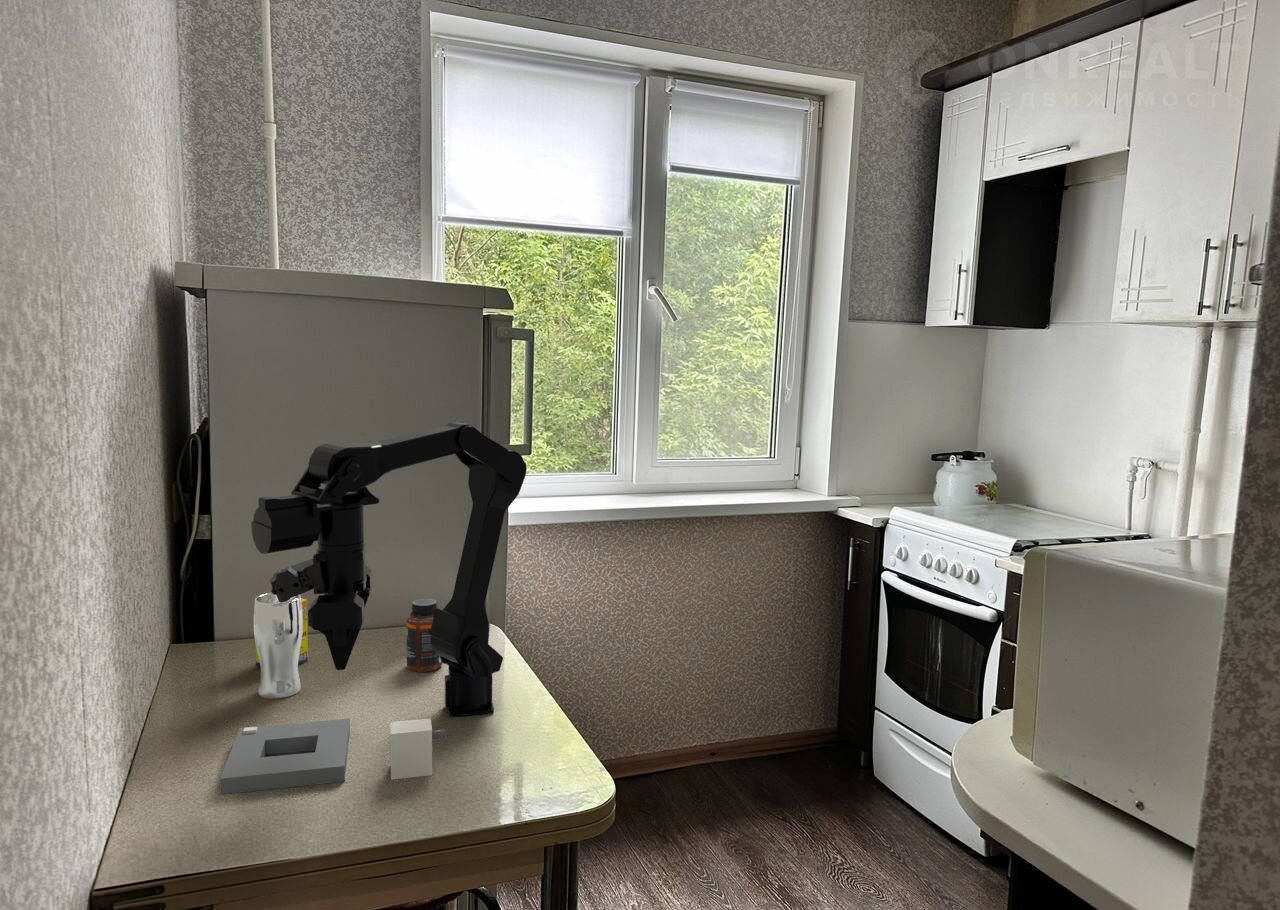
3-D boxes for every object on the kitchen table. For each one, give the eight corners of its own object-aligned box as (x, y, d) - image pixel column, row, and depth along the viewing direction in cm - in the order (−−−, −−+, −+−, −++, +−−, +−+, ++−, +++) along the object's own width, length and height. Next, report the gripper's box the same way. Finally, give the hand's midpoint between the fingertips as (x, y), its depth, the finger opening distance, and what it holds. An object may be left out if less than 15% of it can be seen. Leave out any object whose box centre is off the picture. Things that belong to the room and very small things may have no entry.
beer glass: (286, 702, 128) (284, 605, 126) (245, 697, 129) (242, 601, 127) (313, 685, 134) (311, 593, 133) (273, 680, 136) (271, 589, 134)
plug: (444, 760, 111) (444, 717, 111) (445, 773, 108) (445, 728, 107) (390, 766, 109) (390, 722, 109) (390, 779, 106) (390, 734, 105)
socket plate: (349, 732, 119) (349, 715, 118) (344, 781, 105) (344, 762, 105) (240, 741, 115) (239, 725, 114) (220, 794, 101) (220, 775, 101)
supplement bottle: (450, 665, 144) (450, 600, 143) (423, 676, 139) (424, 609, 138) (425, 657, 148) (425, 594, 146) (398, 667, 143) (398, 602, 141)
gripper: (286, 527, 117) (290, 636, 119) (260, 561, 99) (265, 689, 101) (370, 524, 120) (373, 631, 122) (360, 558, 102) (363, 682, 104)
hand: (344, 656), depth 112 cm, fingers open, 9 cm apart
